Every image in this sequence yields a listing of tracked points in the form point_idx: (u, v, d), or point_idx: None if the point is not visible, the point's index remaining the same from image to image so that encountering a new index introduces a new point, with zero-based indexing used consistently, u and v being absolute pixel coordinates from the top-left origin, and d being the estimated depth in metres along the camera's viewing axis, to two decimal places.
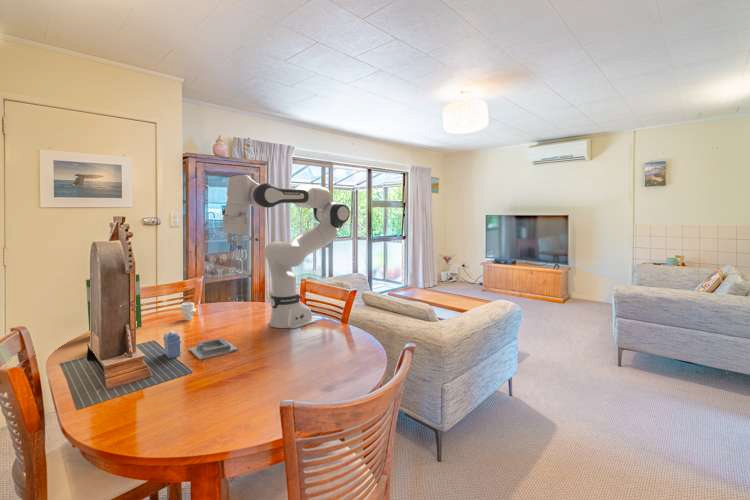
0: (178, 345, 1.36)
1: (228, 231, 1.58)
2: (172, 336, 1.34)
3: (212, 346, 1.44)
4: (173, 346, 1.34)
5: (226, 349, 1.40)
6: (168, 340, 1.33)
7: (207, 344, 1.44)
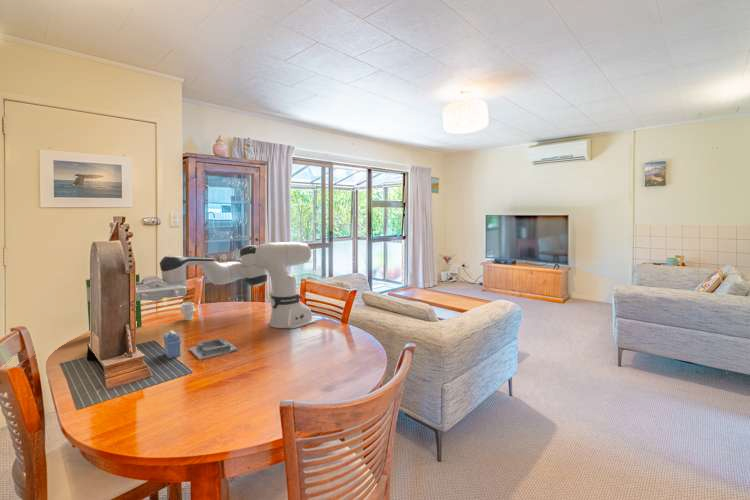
0: (178, 345, 1.36)
1: (151, 290, 1.49)
2: (172, 336, 1.34)
3: (212, 346, 1.44)
4: (173, 346, 1.34)
5: (226, 349, 1.40)
6: (168, 340, 1.33)
7: (207, 344, 1.44)
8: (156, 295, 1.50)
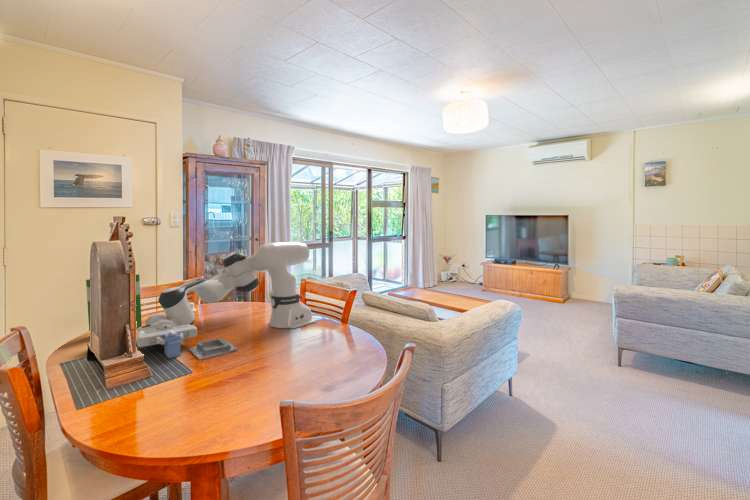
0: (178, 345, 1.36)
1: (160, 333, 1.38)
2: (172, 336, 1.34)
3: (212, 346, 1.44)
4: (173, 346, 1.34)
5: (226, 349, 1.40)
6: (168, 340, 1.33)
7: (207, 344, 1.44)
8: None
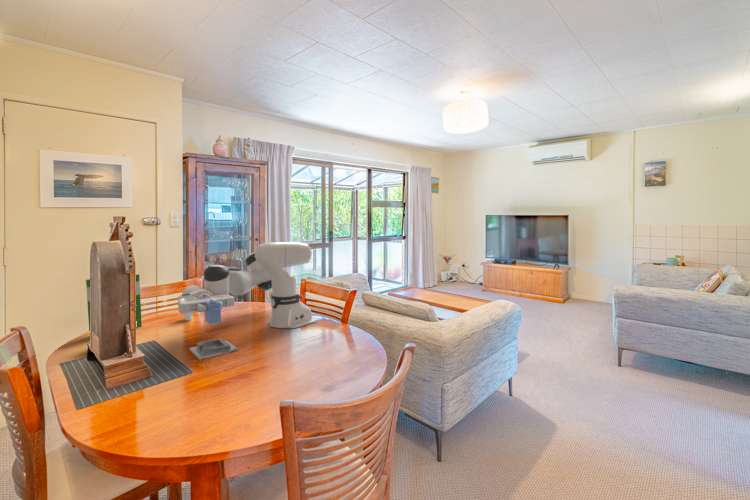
0: (219, 312, 1.39)
1: (201, 301, 1.41)
2: (213, 303, 1.38)
3: (212, 346, 1.44)
4: (214, 312, 1.38)
5: (226, 349, 1.40)
6: (210, 306, 1.37)
7: (207, 344, 1.44)
8: None
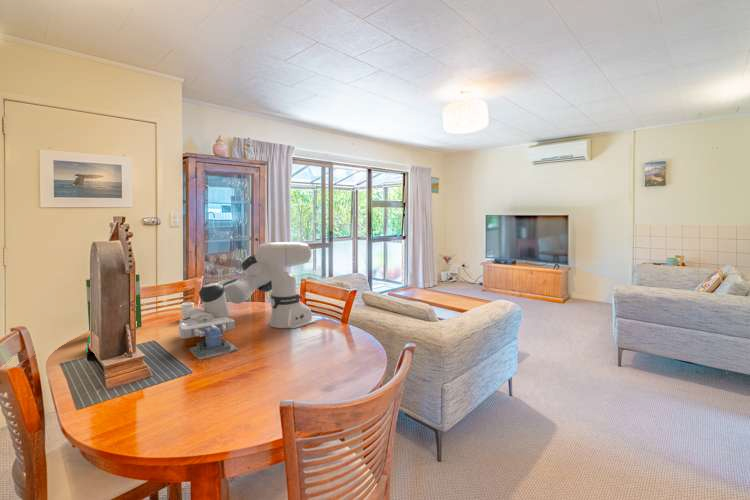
0: (219, 339, 1.40)
1: (201, 325, 1.42)
2: (214, 330, 1.39)
3: None
4: (214, 340, 1.39)
5: (226, 349, 1.40)
6: (210, 334, 1.38)
7: None
8: None
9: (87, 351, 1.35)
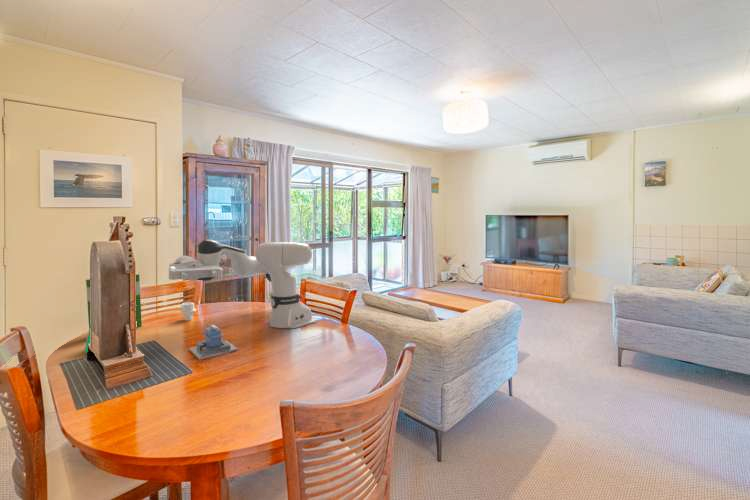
0: (219, 339, 1.40)
1: (190, 269, 1.51)
2: (214, 330, 1.39)
3: None
4: (214, 340, 1.39)
5: (226, 349, 1.40)
6: (210, 334, 1.38)
7: None
8: (194, 275, 1.53)
9: (86, 351, 1.35)
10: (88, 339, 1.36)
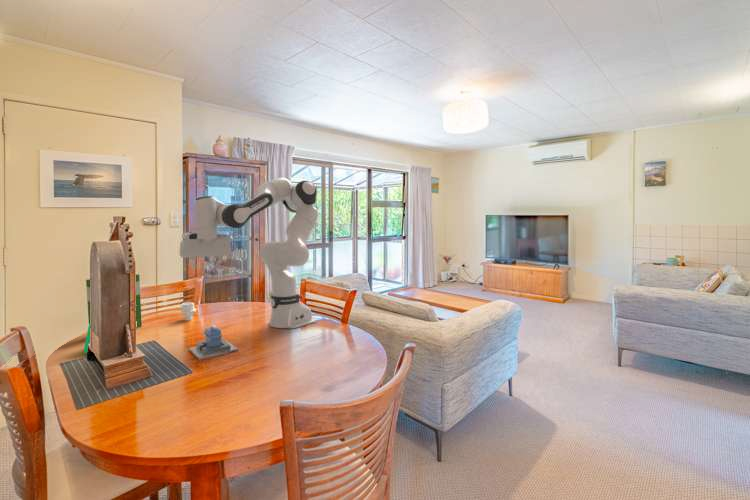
0: (219, 339, 1.40)
1: (200, 255, 1.55)
2: (214, 330, 1.39)
3: None
4: (214, 340, 1.39)
5: (226, 349, 1.40)
6: (210, 334, 1.38)
7: None
8: None
9: (84, 351, 1.35)
10: (87, 339, 1.36)
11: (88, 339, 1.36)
